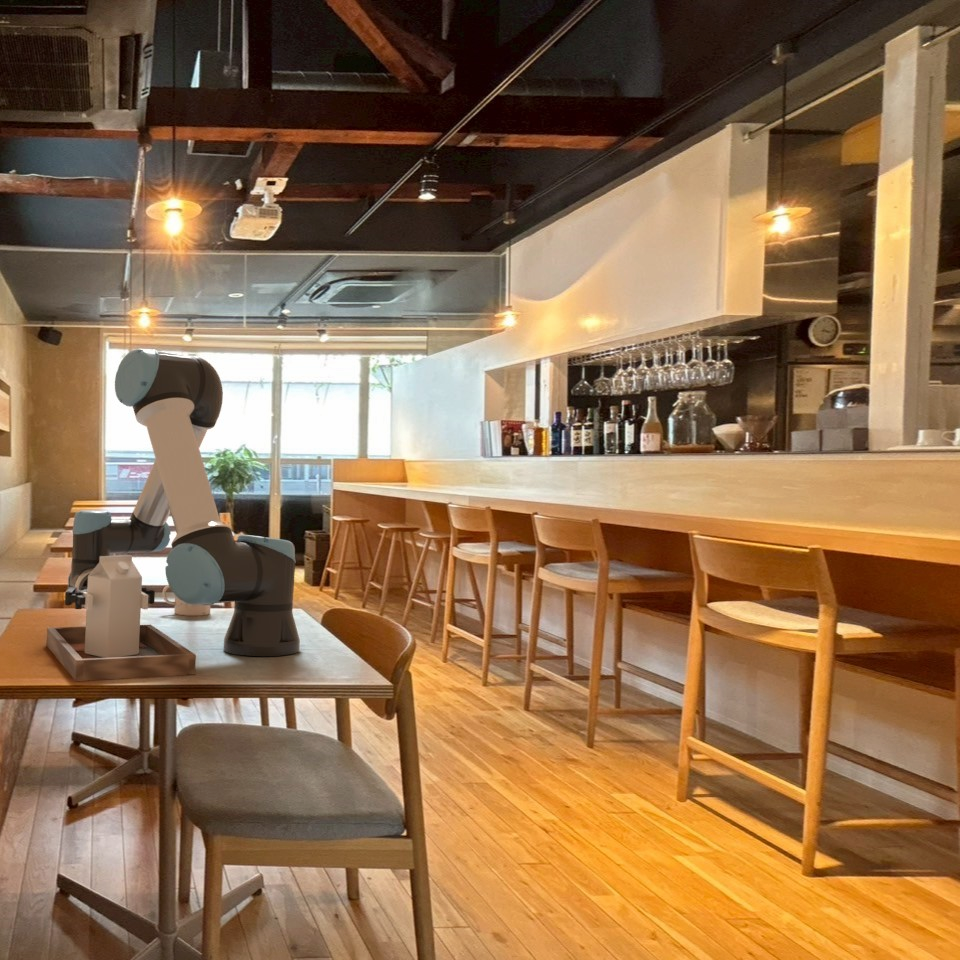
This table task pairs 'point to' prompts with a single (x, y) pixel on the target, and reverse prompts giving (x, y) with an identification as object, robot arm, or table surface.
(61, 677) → the table surface
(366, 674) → the table surface
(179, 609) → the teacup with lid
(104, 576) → the milk carton
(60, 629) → the box
